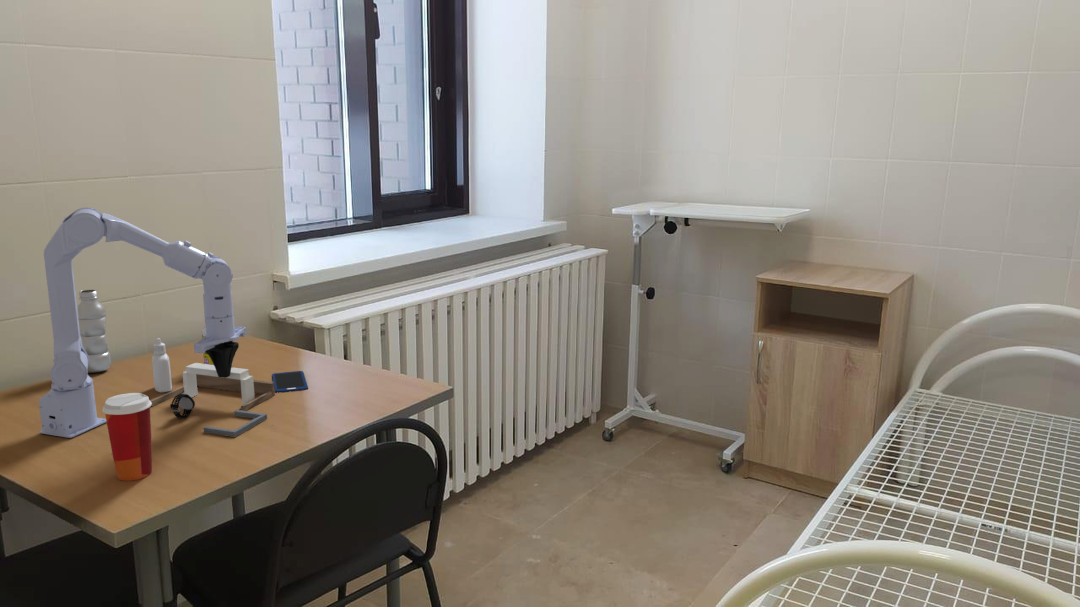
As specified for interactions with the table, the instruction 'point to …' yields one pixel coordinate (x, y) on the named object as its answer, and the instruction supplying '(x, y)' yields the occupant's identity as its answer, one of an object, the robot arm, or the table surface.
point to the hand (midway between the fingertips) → (224, 376)
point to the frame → (233, 433)
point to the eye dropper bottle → (161, 368)
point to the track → (226, 384)
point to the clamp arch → (210, 370)
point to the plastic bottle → (93, 331)
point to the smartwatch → (182, 405)
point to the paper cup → (130, 434)
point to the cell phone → (289, 381)
